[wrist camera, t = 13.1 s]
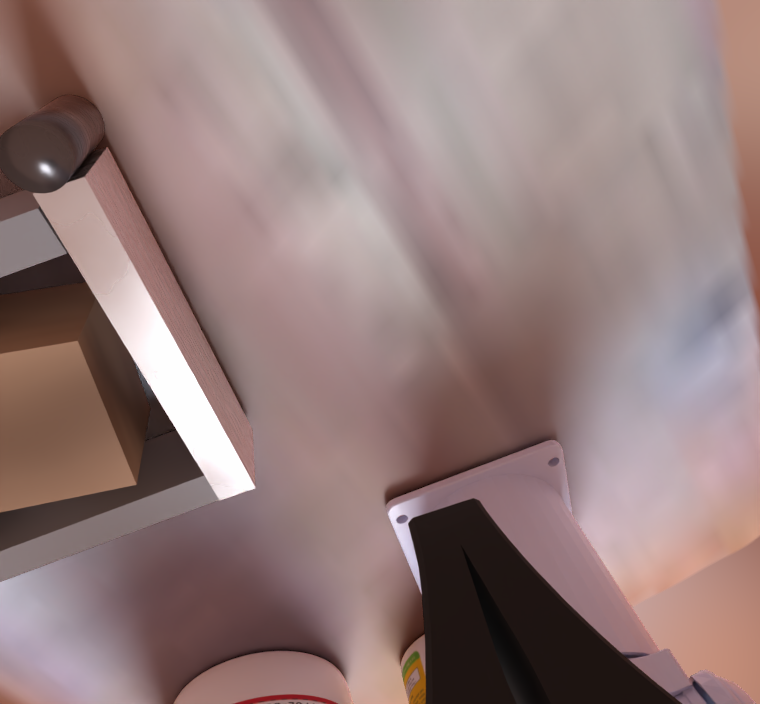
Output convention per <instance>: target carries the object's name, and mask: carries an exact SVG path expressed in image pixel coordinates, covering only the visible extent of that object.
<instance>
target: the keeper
mask: <svg viewBox="0 0 760 704" xmlns="http://www.w3.org/2000/svg"><path fill="white" fill-rule="evenodd" d="M103 135H104V121H103V118H102V116H101V114H100V112H99V111H98V110H97V108H96V107H95V106H94V105H93V104H92V103H90V102H89V101H88V100H86V99H84V98H82V97H79V96H74V95H64V96H61V97H58V98H56V99H55V100H53V101H52V102H50V103H49V104H47V105H46V106H44V107H42V108H41V109H39V110H38V111H36V112H35V113H33V114H32V115H30V116H29V117H27V118H25V119H24V120H22V121H21V122H19V123H18V124H16V125H15V126H13V127H11V128H10V129H8V130H7V131H6V132H4V133H3V134H2V136H1V137H0V168H1V170H2V171H3V173H4V174H5V176H6V177H7V178H8V179H9V180H10V181H11V182H13V183H14V184H15V185H17V186H18V187H20V188H22V189H24V190H27V191H29V192H33V195H34V197H35V199H36V200H37V202H38V204H39V205H40V207H41V209H42V210H43V212H44V213H45V215H46V217H47V218H48V220H49V222H50V223H51V225H52V227H53V228H54V230H55V231H56V233H57V235H58V236H59V238H60V240H61V241H62V243H63V245H64V246H65V248H66V249H67V251H68V253H69V254H70V256H71V258H72V259H73V261H74V263H75V264H76V266H77V267H78V269H79V271H80V272H81V274H82V276H83V277H84V279H85V281H86V282H87V284H88V286H89V287H90V289H91V290H92V292H93V294H94V295H95V297H96V299H97V300H98V302H99V304H100V305H101V307H102V308H103V310H104V312H105V313H106V315H107V317H108V318H109V320H110V322H111V323H112V325H113V326H114V328H115V330H116V331H117V333H118V335H119V336H120V338H121V340H122V341H123V343H124V345H125V346H126V348H127V349H128V351H129V353H130V354H131V356H132V358H133V359H134V361H135V363H136V364H137V366H138V367H139V369H140V371H141V372H142V374H143V376H144V377H145V379H146V381H147V382H148V384H149V385H150V387H151V389H152V390H153V392H154V394H155V395H156V397H157V399H158V400H159V402H160V403H161V405H162V407H163V408H164V410H165V412H166V413H167V415H168V417H169V418H170V420H171V422H172V423H173V425H174V426H175V428H176V430H177V431H178V433H179V435H180V436H181V438H182V440H183V441H184V443H185V444H186V446H187V448H188V449H189V451H190V453H191V454H192V456H193V458H194V459H195V461H196V462H197V464H198V466H199V467H200V469H201V471H202V472H203V474H204V476H205V477H206V479H207V481H208V482H209V484H210V485H211V487H212V489H213V490H214V492H215V494H216V495H217V497H218V499H219V500H223V499H226V498H228V497H231V496H234V495H237V494H240V493H243V492H246V491H248V490H251V489H254V488H256V487H255V468H254V449H253V430H252V428H251V426H250V424H249V422H248V420H247V418H246V416H245V414H244V412H243V410H242V408H241V406H240V404H239V402H238V400H237V398H236V396H235V395H234V393H233V391H232V389H231V387H230V385H229V383H228V381H227V379H226V377H225V375H224V373H223V371H222V369H221V367H220V365H219V363H218V361H217V359H216V357H215V355H214V353H213V352H212V350H211V348H210V346H209V344H208V342H207V340H206V338H205V336H204V334H203V332H202V330H201V328H200V326H199V324H198V322H197V320H196V318H195V316H194V314H193V312H192V311H191V309H190V307H189V305H188V303H187V301H186V299H185V297H184V295H183V293H182V291H181V289H180V287H179V285H178V283H177V281H176V279H175V277H174V275H173V273H172V271H171V269H170V268H169V266H168V264H167V262H166V260H165V258H164V256H163V254H162V252H161V250H160V248H159V246H158V244H157V242H156V240H155V238H154V236H153V234H152V232H151V230H150V228H149V227H148V225H147V223H146V221H145V219H144V217H143V215H142V213H141V211H140V209H139V207H138V205H137V203H136V201H135V199H134V197H133V195H132V193H131V191H130V189H129V187H128V185H127V184H126V182H125V180H124V178H123V176H122V174H121V172H120V170H119V168H118V166H117V164H116V162H115V160H114V158H113V156H112V154H111V152H110V150H109V148H108V147H105V148H102V149H99V150H96V151H93V150H94V149H95V148H96V146H97V145H98V144H99V143H100V142H101V140H102V138H103ZM92 151H93V152H92Z"/></svg>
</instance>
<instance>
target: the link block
mask: <svg viewBox="0 0 760 704" xmlns="http://www.w3.org/2000/svg"><path fill="white" fill-rule="evenodd" d="M150 409H151V408H150V406H149V403H148V400H147V397H146V395H145V392H144V389H143V386H142V383H141V381H140V378H139V375H138V372H137V370H136V367H135V364H134V361H133V358H132V356H131V354H130V353H129V351H128V349H127V348H126V346H125V345H124V343H123V341H122V340H121V338H120V336H119V335H118V333H117V331H116V330H115V328H114V326H113V325H112V323H111V322H110V320H109V318H108V317H107V315H106V313H105V312H104V310H103V308H102V307H101V305H100V304H99V302H98V300H97V299H96V297H95V295H94V294H93V292H92V290H91V289H90V287H89V286H88V284H87V282H82V283H75V284H69V285H62V286H56V287H49V288H43V289H36V290H30V291H23V292H17V293H10V294H4V295H0V512H5V511H10V510H15V509H20V508H25V507H30V506H35V505H40V504H45V503H49V502H54V501H59V500H64V499H69V498H74V497H79V496H84V495H89V494H94V493H98V492H103V491H108V490H113V489H118V488H123V487H128V486H133V485H137V480H138V474H139V469H140V463H141V458H142V452H143V447H144V441H145V436H146V430H147V425H148V419H149V414H150Z"/></svg>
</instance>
